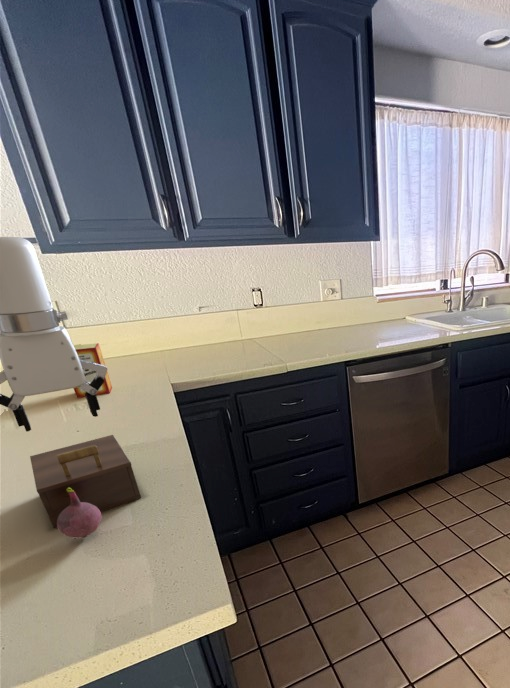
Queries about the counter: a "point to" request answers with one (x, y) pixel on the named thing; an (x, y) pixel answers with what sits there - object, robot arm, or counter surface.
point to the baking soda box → (92, 355)
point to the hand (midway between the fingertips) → (62, 421)
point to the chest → (94, 492)
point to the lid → (77, 463)
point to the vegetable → (78, 518)
